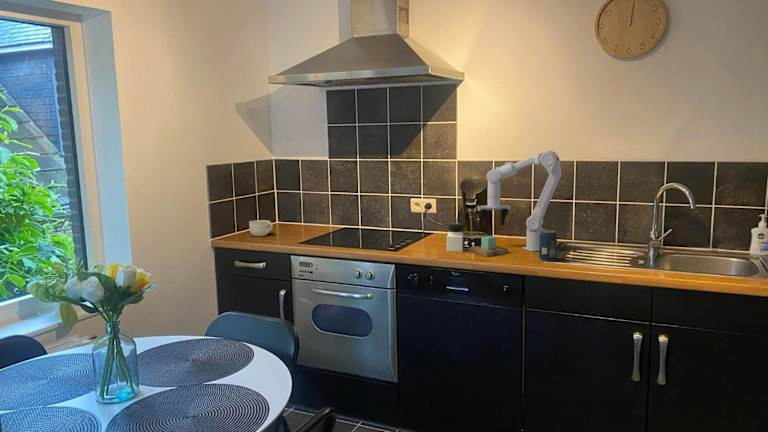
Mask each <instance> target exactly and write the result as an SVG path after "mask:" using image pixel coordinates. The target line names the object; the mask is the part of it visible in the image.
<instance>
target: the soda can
mask: <svg viewBox="0 0 768 432" xmlns="http://www.w3.org/2000/svg"><path fill="white" fill-rule="evenodd" d="M557 245H558V235H557V233H556V230H553V229H552V230H551V229H546V230H542V231H541V233H540V235H539V251H538V257H539V259H540V261H543V262H554V261H556V259H557V255H558V254H557V253H558V252H557V247H558V246H557Z"/></svg>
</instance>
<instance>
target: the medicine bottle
mask: <svg viewBox="0 0 768 432" xmlns="http://www.w3.org/2000/svg"><path fill="white" fill-rule="evenodd" d="M464 249H465V234H464V233H463V225H462V224H461V223H450V224H449V225H448V233H447V236H446V252H447V253H448V252H449V253H463V252H464Z"/></svg>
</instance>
